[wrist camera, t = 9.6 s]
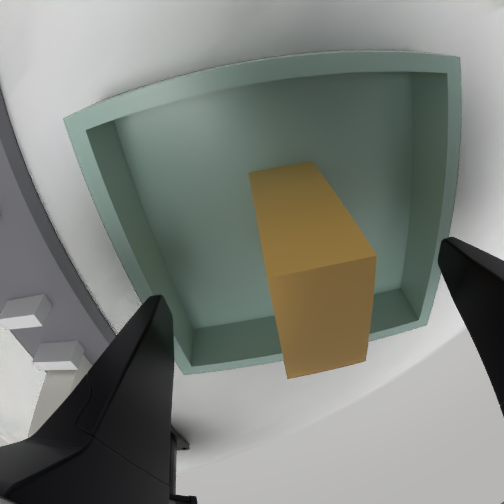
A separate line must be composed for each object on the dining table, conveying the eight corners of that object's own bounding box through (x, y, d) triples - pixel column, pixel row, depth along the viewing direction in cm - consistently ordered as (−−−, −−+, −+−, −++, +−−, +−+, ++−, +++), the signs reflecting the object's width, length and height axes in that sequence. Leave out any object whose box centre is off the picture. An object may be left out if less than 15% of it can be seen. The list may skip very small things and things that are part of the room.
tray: (403, 286, 16) (426, 325, 14) (187, 329, 17) (183, 374, 14) (413, 51, 9) (459, 57, 7) (98, 101, 10) (62, 118, 7)
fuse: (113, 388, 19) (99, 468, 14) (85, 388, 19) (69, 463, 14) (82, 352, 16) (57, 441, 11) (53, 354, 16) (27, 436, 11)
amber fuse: (320, 248, 14) (365, 361, 9) (265, 259, 14) (287, 378, 9) (311, 161, 11) (376, 255, 6) (248, 172, 12) (266, 278, 7)
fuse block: (156, 389, 20) (152, 420, 18) (79, 392, 21) (72, 418, 19) (-17, -9, 6) (-53, -10, 3) (-93, 68, 6) (-123, 79, 4)
